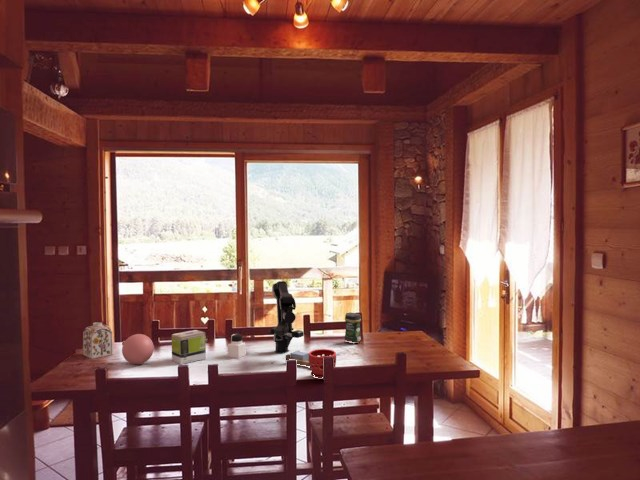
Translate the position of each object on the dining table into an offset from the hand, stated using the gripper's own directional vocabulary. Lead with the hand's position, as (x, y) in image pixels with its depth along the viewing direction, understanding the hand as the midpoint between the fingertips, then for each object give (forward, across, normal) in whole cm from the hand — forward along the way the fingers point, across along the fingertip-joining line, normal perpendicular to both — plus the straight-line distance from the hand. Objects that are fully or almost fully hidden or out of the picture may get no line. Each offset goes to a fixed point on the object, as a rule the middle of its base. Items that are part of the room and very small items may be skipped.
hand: (286, 348), depth 258 cm
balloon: (+7, -62, -48) cm, 79 cm away
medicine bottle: (+7, -27, -9) cm, 30 cm away
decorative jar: (+7, -92, -50) cm, 105 cm away
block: (+6, +9, 0) cm, 11 cm away
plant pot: (+6, +32, -14) cm, 35 cm away
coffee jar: (+7, +12, +53) cm, 55 cm away
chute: (+6, +13, 0) cm, 14 cm away
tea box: (+7, -43, -29) cm, 53 cm away
